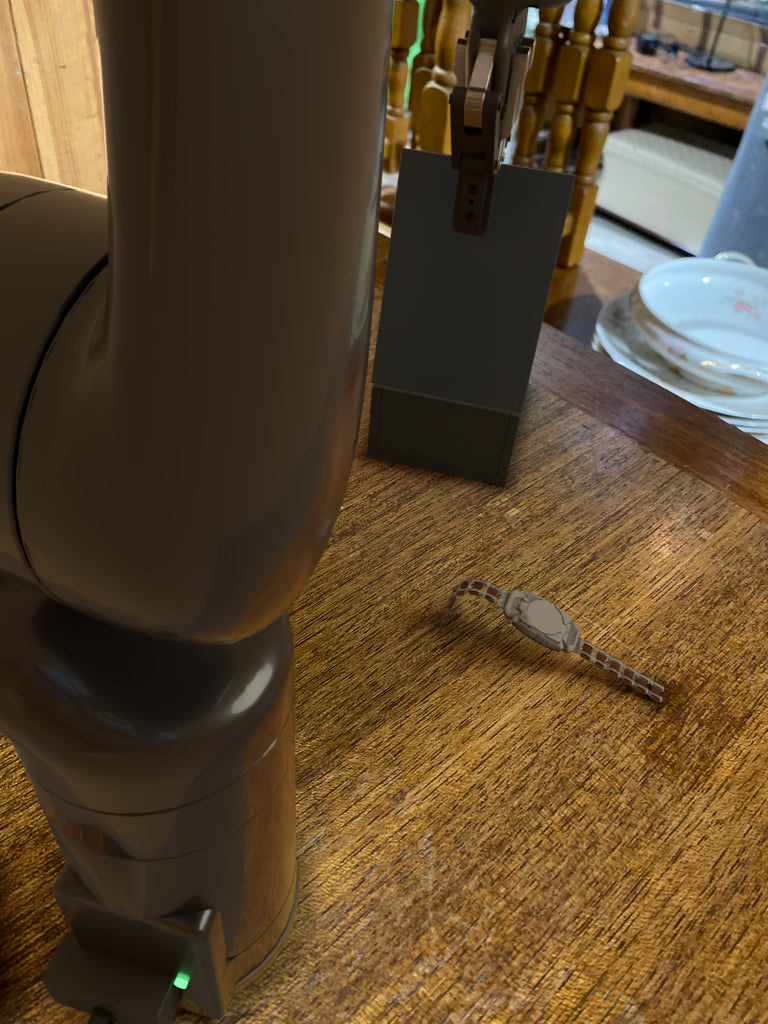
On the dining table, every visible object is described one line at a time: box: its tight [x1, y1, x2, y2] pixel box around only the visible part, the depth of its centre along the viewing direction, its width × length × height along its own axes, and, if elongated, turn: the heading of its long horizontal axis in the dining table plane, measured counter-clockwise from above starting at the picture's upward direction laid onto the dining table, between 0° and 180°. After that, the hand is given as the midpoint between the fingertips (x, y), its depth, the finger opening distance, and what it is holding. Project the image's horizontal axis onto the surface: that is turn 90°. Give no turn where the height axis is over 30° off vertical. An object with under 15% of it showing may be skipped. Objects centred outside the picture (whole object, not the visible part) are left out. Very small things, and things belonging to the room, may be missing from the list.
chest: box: [366, 325, 543, 487], centre depth 67 cm, size 16×12×7 cm
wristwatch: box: [442, 578, 665, 704], centre depth 50 cm, size 4×14×5 cm, turn 67°
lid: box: [370, 147, 577, 415], centre depth 55 cm, size 16×12×1 cm
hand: (470, 229), depth 50 cm, fingers closed
